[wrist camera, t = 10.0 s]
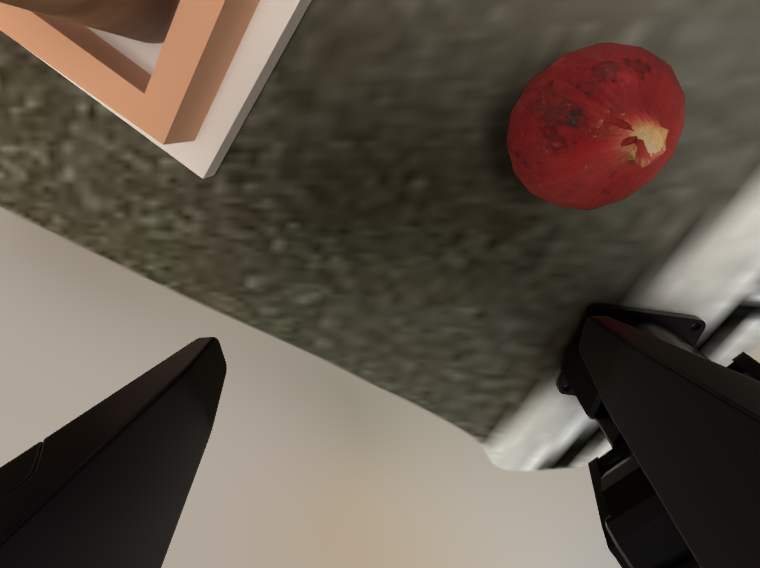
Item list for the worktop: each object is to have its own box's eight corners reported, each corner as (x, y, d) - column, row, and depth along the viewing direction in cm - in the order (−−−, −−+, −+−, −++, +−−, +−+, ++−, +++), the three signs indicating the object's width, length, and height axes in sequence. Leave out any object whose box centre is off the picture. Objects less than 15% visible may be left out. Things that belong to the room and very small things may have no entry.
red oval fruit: (468, 156, 18) (504, 184, 11) (540, 32, 16) (643, -34, 9) (564, 208, 19) (656, 267, 12) (646, 98, 17) (824, 86, 9)
